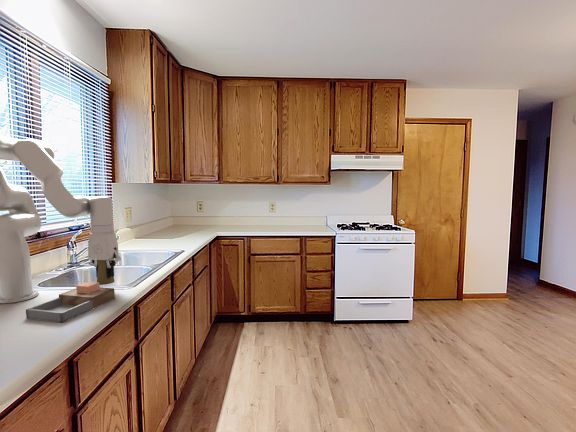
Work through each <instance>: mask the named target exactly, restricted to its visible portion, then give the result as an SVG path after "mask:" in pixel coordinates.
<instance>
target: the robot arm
mask: <svg viewBox="0 0 576 432" xmlns="http://www.w3.org/2000/svg"><path fill="white" fill-rule="evenodd" d="M54 158H55V151H54V150H53V148H52V147H51V146H50V145H49V144H47V143H46V142H43V141H39V140H34V139H27V138H26V139H20V138H14V137H9V136H8V137H7V136H4V135H3V136H2V135H0V160H4V161H13V162H20V163H21V164H22V165H23V167H24V168H25V169H27V171H28V172H29V173H31V175H32V176H33V177H34V179H36V180H37V181H38V182H39V184H40V186H41V191H42V192H43V195H44V198H45V199H46V200H47V202H48V203H49V204H50V205H51V206H52V207H53V208H54V210H56V211H57V212H58V213H59V214H60V215H62V216H63V217H66V218H69V219H73V218H78V217H85V216H90V226H89V230H91V231H90V233H89V235H88V242H87V243H88V244H87V254H88V257H87V259H88V260H89V261H90V262H91V263H92V264H93V267H95V273H96V274H95V276H96V278H97V274H98V262H97V260H105V261H106V262H107V267H108V268H106V274H107V278H110V277H111V276H112V277H115V267H116V265H117V264H118V263H119V262H120V261H121V260H122V258H121V256H120V254H119V244H118V238H117V234H116V232H115V224H114V209H113V206H114V203H113V199H112V197H110V196H88V195H87V196H86V195H77V196H76V195H75V196H73V194H72V193H71V192H70V191H69V190H68V189H67V188H66V187H65V185H64V184H63V181H62V177H63V174H64V170H63V168H62V167H60V165H59V164H58V163H57V162H56V161H55V160H54ZM5 211H7V212H8V213H5V214H2V215H0V304H11V303H20V302H24V301H28V300H31V299H33V298H36V297H38V295H39V291H38V290H36V289H34V285H33V274H32V264H31V253H30V252H31V251H30V247H29V244H28V242H27V240H26V238H25V237H29V236H32V235H33V236H34V235H35V234H37V233H38V232H39V231H40V230H41V228H42V220H41V217H40V214H39V212H38V209H37V207H36V204H35V202H34V200H33V197H32V196H31V193H30V192H29V191H28V190H27V188H25V187H23V186H21V185H18V184H17V185H16V184H10V182H9V181H8V180H7V177H6V175H5V172H4V170H3V169H2V167H0V212H5ZM110 261H111V263H110Z"/></svg>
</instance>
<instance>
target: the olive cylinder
mask: <svg viewBox="0 0 576 432" xmlns="http://www.w3.org/2000/svg"><path fill="white" fill-rule="evenodd" d="M97 262H98V274H97V277H96V282H99V286H103V285H111V284H113V283H115V278H114V277H115V276H114V277H112V276H111V277H110V278H107V274H106V268H108V267H107V262H106V261H105V260H97ZM110 263H111V261H110Z"/></svg>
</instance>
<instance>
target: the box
mask: <svg viewBox="0 0 576 432" xmlns="http://www.w3.org/2000/svg"><path fill="white" fill-rule="evenodd" d="M91 310H93V303H92V300H90V301H87V302H85V303H82V304H80V305H78V306H72V305H62V304H61V297H59V296H58V297H56V298H53V299H51V300H48V301H45V302H43V303H39V304H37V305H34V306H32V307H31V306H30V307H29V308H27V309H25V318H26V319H27V320H36V321H43V322H44V321H45V322H51V323H52V322H53V323H62V324H63V323H65V322H68V321H69V320H71V319H73V318H76V317H79V316H80V315H83V314H85V313H86V312H89V311H91Z"/></svg>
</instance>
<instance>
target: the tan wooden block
mask: <svg viewBox="0 0 576 432" xmlns="http://www.w3.org/2000/svg"><path fill="white" fill-rule="evenodd" d="M59 297H61V304H62V305H72V306H78V305H80V304H82V303H85V302H87V301H90V300H92V303H93V308H94V309H96V308H99V307H100V305H101V306H102V304H103V305H105V304H107V303H110V302H112V301H114V300H115V299H116V295H115V288H114V287H103V286H100V289H99V290H96V291H94V292H91V293H89V294H87V293H77V290H76V288H73V289H70V290H67V291H65V292H62V293H60V294H59V293H58V298H59Z"/></svg>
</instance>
